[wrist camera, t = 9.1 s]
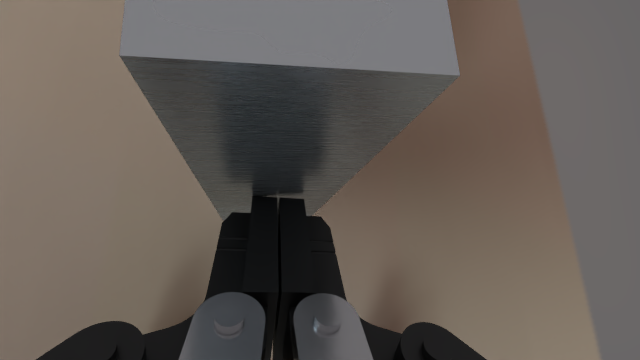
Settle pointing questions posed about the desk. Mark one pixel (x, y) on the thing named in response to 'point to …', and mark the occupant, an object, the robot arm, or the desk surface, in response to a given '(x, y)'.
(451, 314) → the desk surface
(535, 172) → the desk surface
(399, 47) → the grey rectangular block
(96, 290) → the desk surface
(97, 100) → the desk surface
